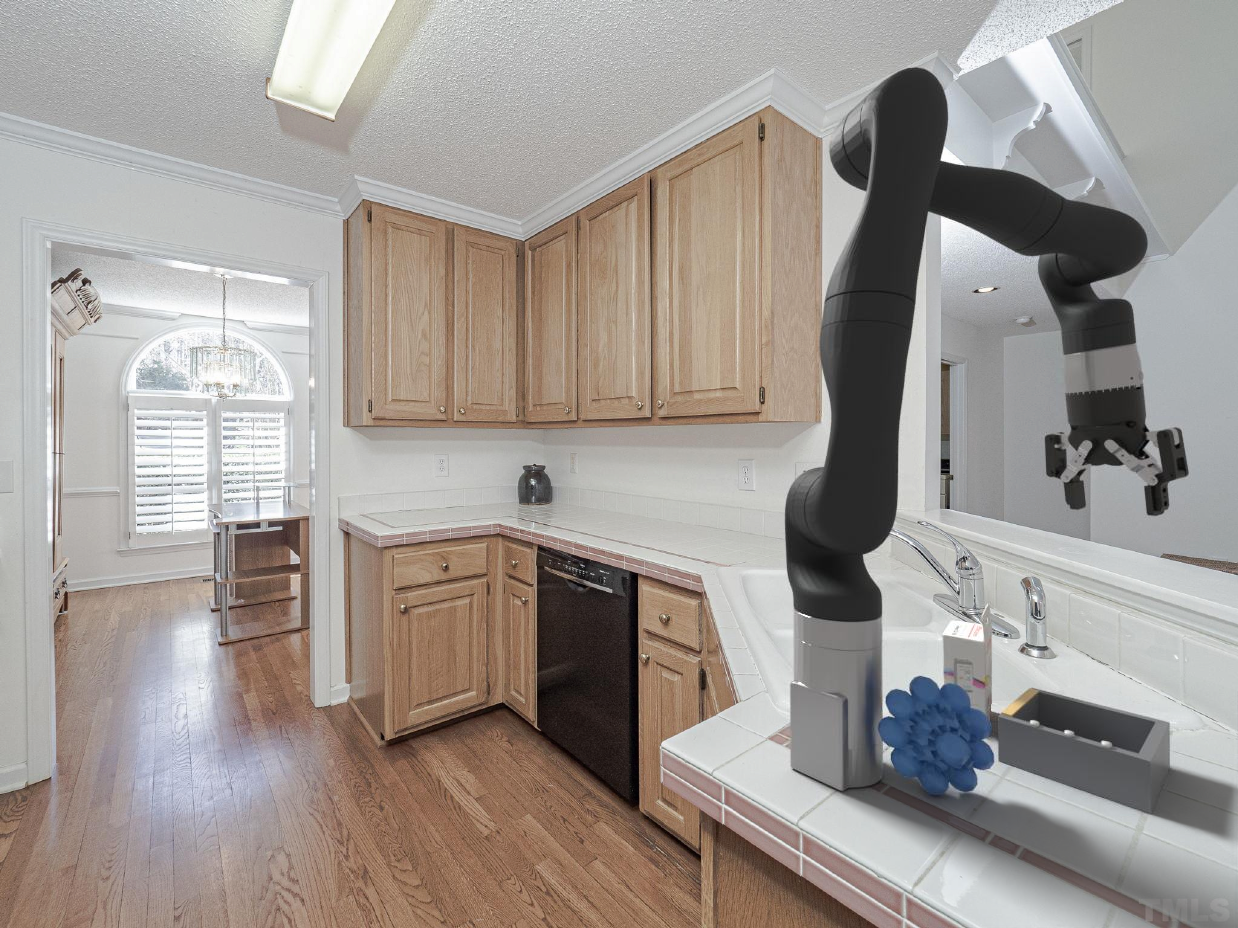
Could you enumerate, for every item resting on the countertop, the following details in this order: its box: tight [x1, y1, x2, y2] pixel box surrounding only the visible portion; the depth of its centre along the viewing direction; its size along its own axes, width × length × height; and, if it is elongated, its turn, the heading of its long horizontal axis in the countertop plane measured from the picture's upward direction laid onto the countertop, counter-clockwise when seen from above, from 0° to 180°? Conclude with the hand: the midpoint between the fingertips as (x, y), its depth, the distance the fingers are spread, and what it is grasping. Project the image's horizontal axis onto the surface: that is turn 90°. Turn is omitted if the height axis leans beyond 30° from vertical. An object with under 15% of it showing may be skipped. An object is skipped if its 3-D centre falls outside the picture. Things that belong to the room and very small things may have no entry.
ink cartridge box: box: [941, 603, 993, 720], centre depth 74 cm, size 9×5×15 cm, turn 143°
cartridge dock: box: [997, 687, 1171, 815], centre depth 63 cm, size 13×13×5 cm
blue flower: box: [878, 675, 995, 796], centre depth 56 cm, size 12×7×12 cm, turn 90°
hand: (1115, 511), depth 72 cm, fingers open, 8 cm apart
